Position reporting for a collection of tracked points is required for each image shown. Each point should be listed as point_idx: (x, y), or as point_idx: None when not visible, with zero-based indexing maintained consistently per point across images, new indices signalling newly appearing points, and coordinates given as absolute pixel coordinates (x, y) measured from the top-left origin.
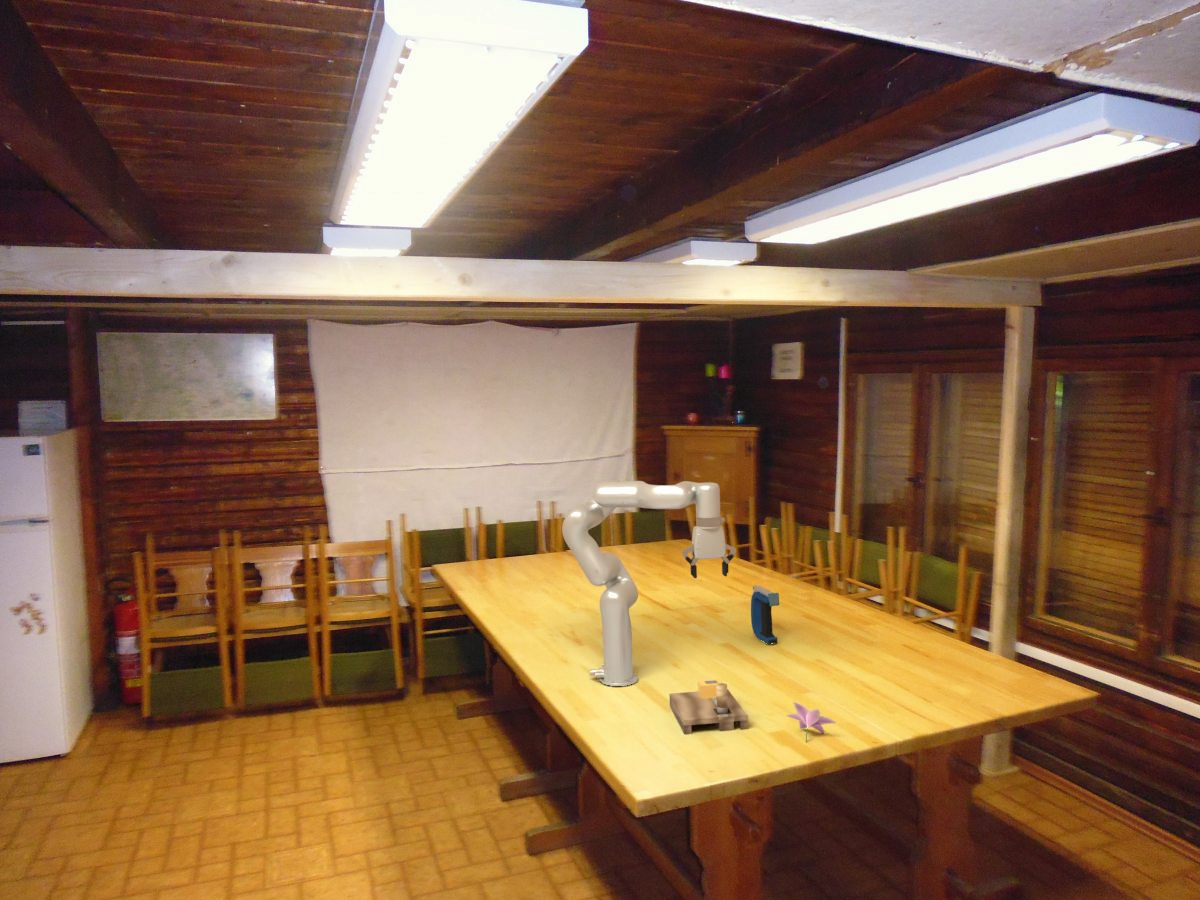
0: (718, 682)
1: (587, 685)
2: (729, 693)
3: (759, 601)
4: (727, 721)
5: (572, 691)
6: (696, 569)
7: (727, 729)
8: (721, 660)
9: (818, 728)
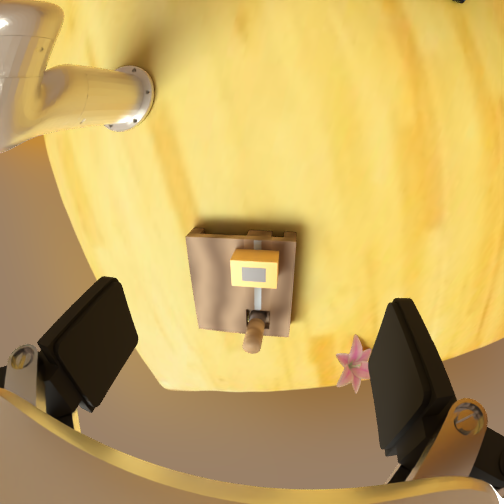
0: (267, 279)
1: None
2: (291, 262)
3: None
4: None
5: (69, 144)
6: (108, 387)
7: None
8: (346, 20)
9: (365, 355)
